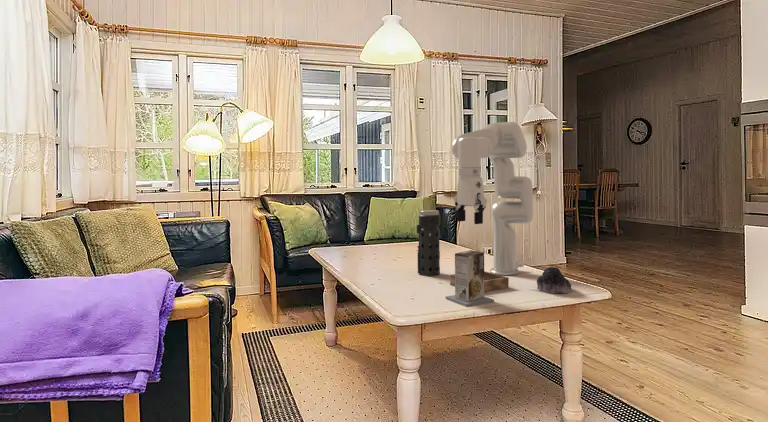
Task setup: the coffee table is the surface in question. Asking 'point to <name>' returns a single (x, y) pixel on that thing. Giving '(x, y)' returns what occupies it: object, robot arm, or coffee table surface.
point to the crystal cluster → (553, 281)
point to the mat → (470, 303)
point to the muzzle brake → (429, 243)
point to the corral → (489, 281)
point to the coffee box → (469, 275)
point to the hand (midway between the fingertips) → (469, 222)
